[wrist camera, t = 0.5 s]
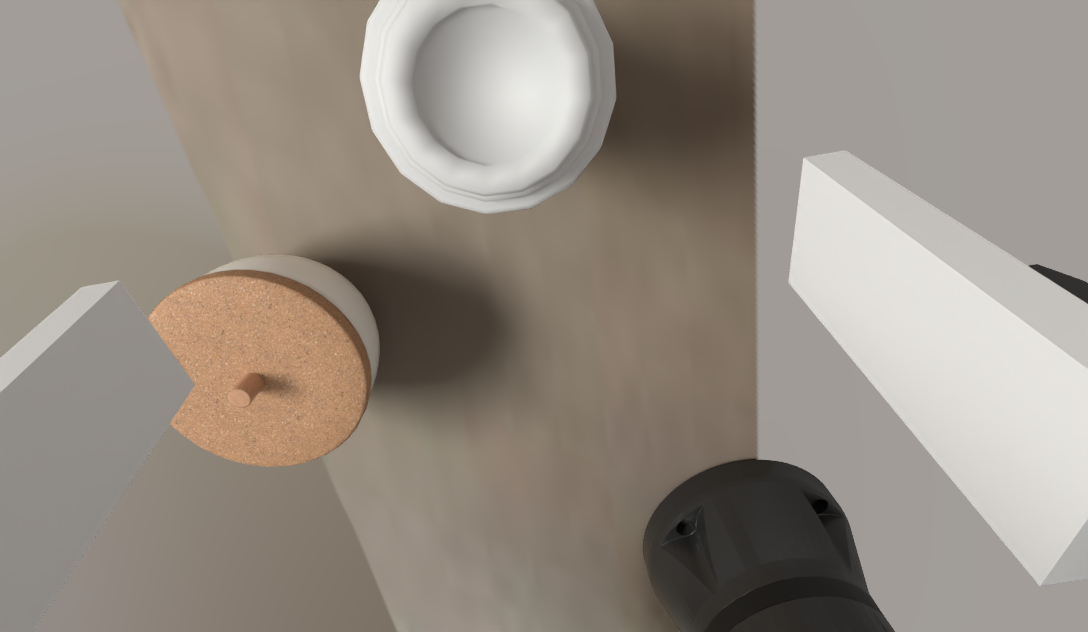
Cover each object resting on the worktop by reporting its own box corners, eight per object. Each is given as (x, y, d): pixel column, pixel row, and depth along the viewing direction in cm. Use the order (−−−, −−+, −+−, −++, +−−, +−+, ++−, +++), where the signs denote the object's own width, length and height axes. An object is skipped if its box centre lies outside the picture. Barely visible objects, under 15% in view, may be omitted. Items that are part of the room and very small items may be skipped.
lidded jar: (297, 416, 37) (231, 521, 28) (178, 286, 33) (57, 363, 24) (432, 342, 35) (404, 430, 26) (323, 195, 31) (249, 243, 22)
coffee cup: (408, -28, 27) (333, -96, 16) (594, -9, 27) (646, -63, 16) (412, 164, 30) (353, 217, 19) (575, 176, 31) (608, 234, 20)
